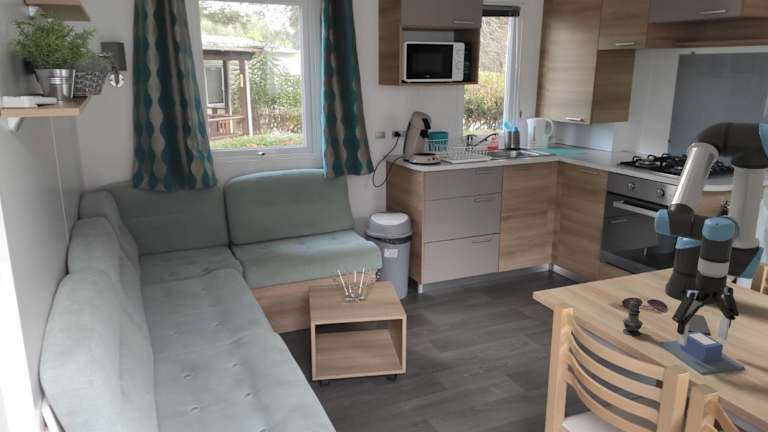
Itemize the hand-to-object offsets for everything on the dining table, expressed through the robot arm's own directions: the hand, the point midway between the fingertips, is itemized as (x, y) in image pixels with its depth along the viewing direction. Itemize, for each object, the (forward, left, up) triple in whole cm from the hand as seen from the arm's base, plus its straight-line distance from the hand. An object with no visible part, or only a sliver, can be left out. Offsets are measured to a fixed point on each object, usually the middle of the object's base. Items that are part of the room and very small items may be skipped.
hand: (702, 341), depth 171 cm
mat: (0, 0, -5) cm, 5 cm away
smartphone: (-14, -19, -5) cm, 24 cm away
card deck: (0, 0, -4) cm, 4 cm away
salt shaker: (+10, -18, -5) cm, 21 cm away
